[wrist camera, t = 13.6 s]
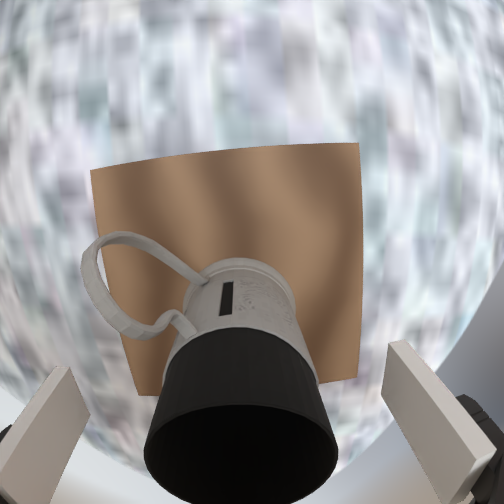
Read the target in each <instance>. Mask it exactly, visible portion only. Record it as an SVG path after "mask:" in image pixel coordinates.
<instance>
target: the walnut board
mask: <svg viewBox="0 0 504 504" xmlns="http://www.w3.org/2000/svg"><path fill="white" fill-rule="evenodd" d="M90 174H91V183H92V192H93V200H94V208H95V215H96V222H97V228H98V235H99V237H101V236H103V235H106V234H109V233H112V232H115V231H127V232H133V233H136V234H139V235H143V236H145V237H147V238H150V239H152V240H154V241H155V242H157V243H158V244H160V245H161V246H163V247H164V248H165V249H167V250H168V251H169V252H171V253H172V254H173V255H175V256H176V257H178V258H179V259H180V260H181V261H183V262H184V263H185V264H186V265H188V266H189V267H190V268H192V269H193V270H194V271H196V272H197V273H199V272H200V271H202V270H203V269H204V268H205V267H207V266H209V265H211V264H212V263H214V262H217V261H220V260H223V259H228V258H250V259H255V260H258V261H261V262H264V263H266V264H267V265H269V266H271V267H273V268H274V269H275V270H277V271H278V272H279V273H280V274H281V275H282V276H283V277H284V278H285V279H286V281H287V282H288V284H289V286H290V287H291V289H292V292H293V295H294V298H295V305H296V314H295V317H296V319H297V322H298V325H299V327H300V330H301V333H302V335H303V338H304V341H305V343H306V346H307V349H308V351H309V354H310V357H311V359H312V362H313V365H314V367H315V370H316V373H317V376H318V379H319V384H321V383H328V382H334V381H340V380H345V379H351V378H356V377H357V373H358V362H359V350H360V335H361V318H362V294H363V208H362V185H361V167H360V153H359V143H320V144H295V145H277V146H263V147H250V148H238V149H228V150H218V151H209V152H200V153H192V154H184V155H177V156H169V157H163V158H156V159H149V160H143V161H137V162H131V163H125V164H120V165H114V166H109V167H104V168H99V169H94V170H90ZM101 252H102V257H103V263H104V268H105V273H106V277H107V282H108V287H109V291H110V295H111V296H112V298H113V299H114V300H115V302H116V303H117V305H118V306H119V307H120V308H121V309H122V310H123V311H124V312H125V313H126V314H127V315H129V316H130V317H131V318H133V319H135V320H136V321H138V322H140V323H142V324H146V325H150V326H153V325H154V324H155V322H156V321H157V319H158V318H159V317H160V316H161V315H162V314H163V313H165V312H166V311H168V310H173V309H175V310H178V311H180V312H181V313H182V314H183V300H184V296H185V293H186V290H187V288H188V286H189V284H190V281H189V280H187V279H186V278H185V277H183V276H182V275H180V274H179V273H178V272H176V271H175V270H174V269H172V268H171V267H170V266H168V265H167V264H165V263H164V262H162V261H161V260H159V259H158V258H156V257H154V256H153V255H151V254H149V253H148V252H146V251H143V250H141V249H138V248H135V247H132V246H128V245H124V244H110V245H107V246H105V247H102V248H101ZM177 332H178V330H177V329H176V328H175V327H174V326H173V325H172V324H171V323H169V324H168V326H167V327H166V329H165V330H164V331H163V332H162V333H161V334H159V335H158V336H156V337H154V338H151V339H149V340H145V341H142V340H136V339H131V338H129V337H127V336H125V335H123V334H121V333H120V336H121V339H122V343H123V347H124V350H125V353H126V357H127V360H128V364H129V367H130V370H131V373H132V376H133V379H134V383H135V386H136V389H137V392H138V395H139V396H160V394H161V390H162V382H163V373H164V370H165V366H166V363H167V360H168V357H169V355H170V352H171V349H172V346H173V343H174V340H175V338H176V335H177Z"/></svg>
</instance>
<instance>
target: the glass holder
mask: <svg viewBox="0 0 504 504" xmlns="http://www.w3.org/2000/svg"><path fill="white" fill-rule="evenodd" d="M110 244H124V245H128V246H132V247H135V248H138V249H141V250H143V251H146V252H148V253H149V254H151V255H153V256H154V257H156V258H158V259H159V260H161V261H162V262H164V263H165V264H167V265H168V266H170V267H171V268H172V269H174V270H175V271H176V272H178V273H179V274H180V275H182V276H183V277H185V278H186V279H187V280H189V281H190V284H189V286H188V288H187V290H186V293H185V296H184V300H183V314H182V313H181V312H180V311H178V310H175V309H173V310H168V311H166V312H165V313H163V314H162V315H161V316H160V317H159V318H158V319H157V321H156V322H155V324H154V325H153V326H150V325H146V324H142V323H140V322H138V321H136V320H135V319H133V318H131V317H130V316H129V315H127V314H126V313H125V312H124V311H123V310H122V309H121V308H120V307H119V306H118V305H117V303H116V302H115V300H114V299H113V298H112V296H111V295H110V293H109V291H108V289H107V288H106V286H105V284H104V282H103V280H102V278H101V275H100V272H99V268H98V265H97V255H98V250H99V249H100V248H102V247H105V246H107V245H110ZM81 273H82V277H83V281H84V285H85V288H86V290H87V292H88V294H89V296H90V298H91V300H92V302H93V304H94V305H95V307H96V308H97V309H98V311H99V312H100V314H101V315H102V316H103V318H104V319H105V320H106V321H107V322H108V323H109V324H110V325H111V326H112V327H114V328H115V329H116V330H117V331H118V332H120V333H121V334H123V335H125V336H127V337H129V338H131V339H136V340H142V341H145V340H149V339H151V338H154V337H156V336H158V335H159V334H161V333H162V332H163V331H164V330H165V329H166V327H167V326H168V324H169V323H171V324H172V325H173V326H174V327H175V328H176V329H177V330H178V332H177V335H176V338H175V340H174V343H173V346H172V349H171V352H170V355H169V357H168V360H167V363H166V366H165V370H164V373H163V382H162V390H161V394H160V397H159V400H158V403H157V406H156V409H155V413H154V416H153V419H152V422H151V426H150V429H149V432H148V436H147V439H146V442H145V446H144V461H145V464H146V467H147V469H148V471H149V472H150V474H151V476H152V477H153V478H154V479H155V480H156V482H157V483H158V484H159V485H160V486H161V487H163V488H164V489H165V490H167V491H168V492H169V493H171V494H172V495H174V496H176V497H178V498H179V499H181V500H183V501H186V502H189V503H191V504H292V503H294V502H296V501H298V500H301V499H303V498H304V497H306V496H308V495H309V494H311V493H313V492H314V491H315V490H317V489H318V488H319V487H320V486H322V485H323V484H324V483H325V482H326V480H327V479H328V478H329V477H330V476H331V474H332V472H333V471H334V469H335V467H336V464H337V460H338V446H337V443H336V440H335V437H334V434H333V431H332V428H331V425H330V422H329V419H328V416H327V413H326V410H325V408H324V405H323V402H322V399H321V396H320V393H319V390H318V385H319V379H318V376H317V373H316V370H315V367H314V365H313V362H312V359H311V357H310V354H309V351H308V349H307V346H306V343H305V341H304V338H303V335H302V333H301V330H300V327H299V325H298V322H297V319H296V317H295V314H296V305H295V298H294V295H293V292H292V289H291V287H290V286H289V284H288V282H287V281H286V279H285V278H284V277H283V276H282V275H281V274H280V273H279V272H278V271H277V270H275V269H274V268H273V267H271V266H269V265H267V264H266V263H264V262H261V261H258V260H255V259H250V258H228V259H223V260H220V261H217V262H214V263H212V264H211V265H209V266H207V267H205V268H204V269H203V270H202V271H200V272H199V273H197V272H196V271H194V270H193V269H192V268H190V267H189V266H188V265H186V264H185V263H184V262H183V261H181V260H180V259H179V258H178V257H176V256H175V255H173V254H172V253H171V252H169V251H168V250H167V249H165V248H164V247H163V246H161V245H160V244H158V243H157V242H155V241H154V240H152V239H150V238H147V237H145V236H143V235H139V234H136V233H133V232H127V231H115V232H112V233H109V234H106V235H103V236H101V237H99V238H98V239H97V240H96V241H94V242H93V243H92V244H91V245H90V246H89V247H88V248H87V249H86V250H85V251H84V253H83V256H82V262H81Z"/></svg>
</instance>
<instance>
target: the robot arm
mask: <svg viewBox="0 0 504 504" xmlns="http://www.w3.org/2000/svg"><path fill="white" fill-rule="evenodd" d="M381 396H382V398H383V399H384V401H385V403H386V404H387V406H388V408H389V410H390V411H391V413H392V415H393V417H394V418H395V420H396V422H397V423H398V425H399V427H400V429H401V430H402V432H403V434H404V436H405V438H406V439H407V441H408V443H409V445H410V446H411V448H412V450H413V452H414V453H415V455H416V457H417V459H418V461H419V463H420V464H421V466H422V468H423V470H424V472H425V473H426V475H427V477H428V479H429V481H430V482H431V484H432V486H433V488H434V490H435V492H436V494H437V496H438V498H439V499H440V501H441V503H442V504H457V503H459V502H461V501H463V500H464V499H465V498H466V496H467V495H468V494H469V492H470V491H471V492H472V494H473V495H474V498H473V499H472V500H471V502H470V503H469V504H504V433H503V432H502V431H501V430H500V429H499V427H498V426H497V425H496V424H495V423H494V422H493V420H492V419H491V418H489V416H488V415H487V413H486V412H485V411H483V409H482V408H481V407H480V405H479V404H478V403H477V402H476V401H475V400H473V399H472V398H470V397H468V396H466V395H465V394H463V395H461V396H458V397H454V396H453V394H452V393H451V392H450V391H449V390H448V389H447V387H446V386H445V385H444V384H443V382H442V381H441V380H440V379H439V378H438V377H437V375H436V374H435V373H434V372H433V371H432V370H431V368H430V367H429V366H428V365H427V364H426V363H425V362H424V360H423V359H422V358H421V357H420V356H419V355H418V354H417V352H416V351H415V350H414V349H413V348H412V347H411V346H410V345H409V343H408V342H407V341H406V340H400V341H395V342H391V343H388V351H387V359H386V366H385V372H384V379H383V385H382V391H381ZM89 417H90V413H89V411H88V409H87V406H86V404H85V402H84V400H83V398H82V395H81V393H80V391H79V388H78V386H77V384H76V381H75V379H74V376H73V374H72V371H71V369H70V367H58V366H56V367H55V368H54V370H53V371H52V372H51V374H50V375H49V376H48V377H47V379H46V380H45V381H44V383H43V384H42V385H41V387H40V388H39V389H38V391H37V392H36V393H35V395H34V396H33V397H32V399H31V400H30V402H29V403H28V404H27V406H26V407H25V408H24V410H23V411H22V413H21V414H20V415H19V417H18V418H17V420H16V421H15V422H14V424H13V425H9V426H8V427H6V428H5V429H4V430H3V431H1V433H0V504H49V503H50V501H51V499H52V496H53V494H54V492H55V489H56V487H57V485H58V483H59V480H60V478H61V476H62V474H63V471H64V469H65V467H66V465H67V463H68V461H69V458H70V456H71V454H72V452H73V450H74V448H75V446H76V444H77V442H78V440H79V437H80V435H81V433H82V431H83V429H84V427H85V425H86V423H87V421H88V419H89Z"/></svg>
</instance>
